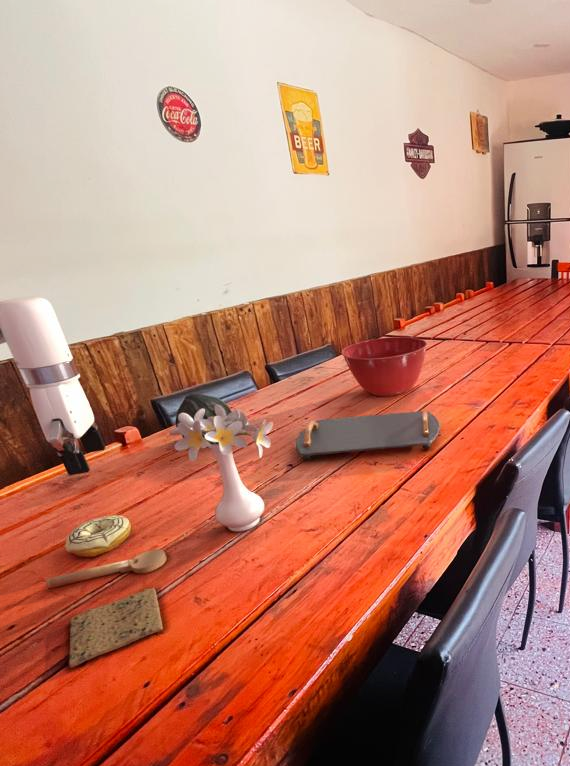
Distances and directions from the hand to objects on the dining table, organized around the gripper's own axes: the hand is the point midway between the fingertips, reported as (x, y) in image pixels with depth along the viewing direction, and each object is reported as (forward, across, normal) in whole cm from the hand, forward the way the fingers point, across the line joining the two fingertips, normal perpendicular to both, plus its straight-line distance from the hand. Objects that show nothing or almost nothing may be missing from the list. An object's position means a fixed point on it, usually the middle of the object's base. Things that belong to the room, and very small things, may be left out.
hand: (88, 461), depth 95 cm
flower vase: (+18, +4, +24) cm, 30 cm away
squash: (+18, -48, +12) cm, 53 cm away
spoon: (+18, +11, +1) cm, 21 cm away
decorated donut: (+18, 0, -3) cm, 18 cm away
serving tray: (+18, -26, +54) cm, 63 cm away
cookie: (+18, +27, +5) cm, 33 cm away
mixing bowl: (+18, -65, +67) cm, 95 cm away
